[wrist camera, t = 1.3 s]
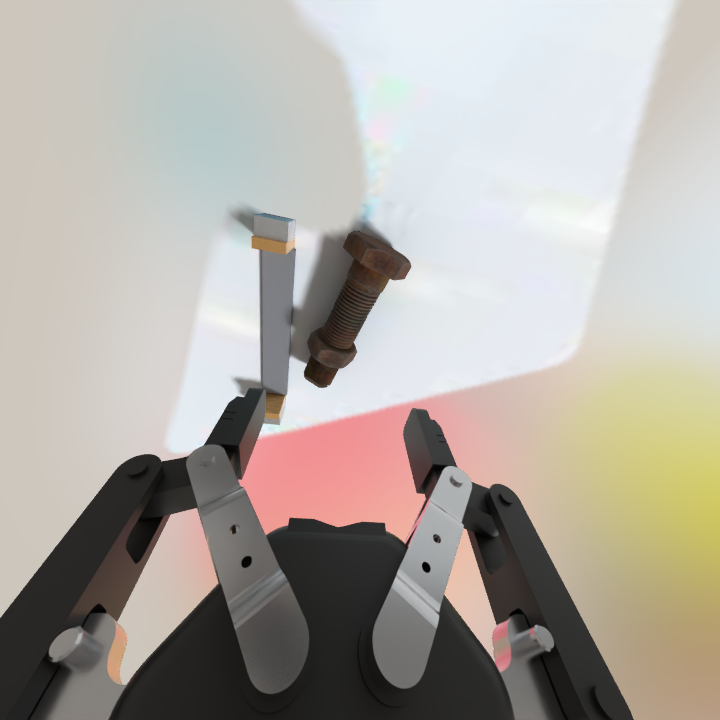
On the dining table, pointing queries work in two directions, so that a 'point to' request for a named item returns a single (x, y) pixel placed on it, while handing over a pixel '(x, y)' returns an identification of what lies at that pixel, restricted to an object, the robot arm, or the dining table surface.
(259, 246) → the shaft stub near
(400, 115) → the dining table surface
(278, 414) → the small wooden block
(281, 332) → the pad
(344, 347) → the bolt
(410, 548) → the robot arm
